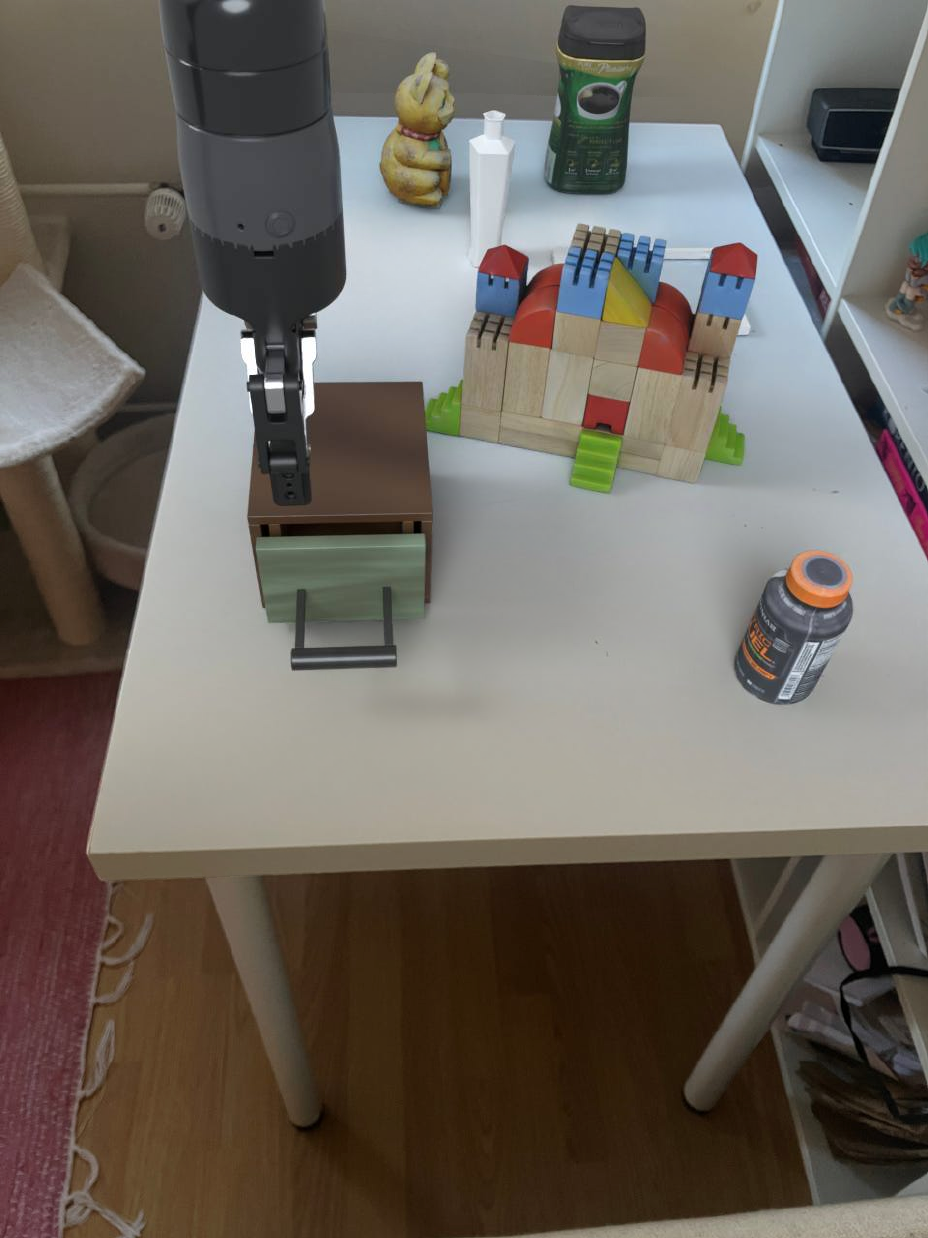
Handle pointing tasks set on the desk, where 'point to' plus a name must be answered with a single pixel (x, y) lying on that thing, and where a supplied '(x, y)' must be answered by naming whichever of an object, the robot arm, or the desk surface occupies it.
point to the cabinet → (358, 464)
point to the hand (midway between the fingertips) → (294, 452)
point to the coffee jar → (594, 98)
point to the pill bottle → (795, 628)
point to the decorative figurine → (420, 137)
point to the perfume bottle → (489, 185)
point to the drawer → (342, 584)
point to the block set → (602, 359)
